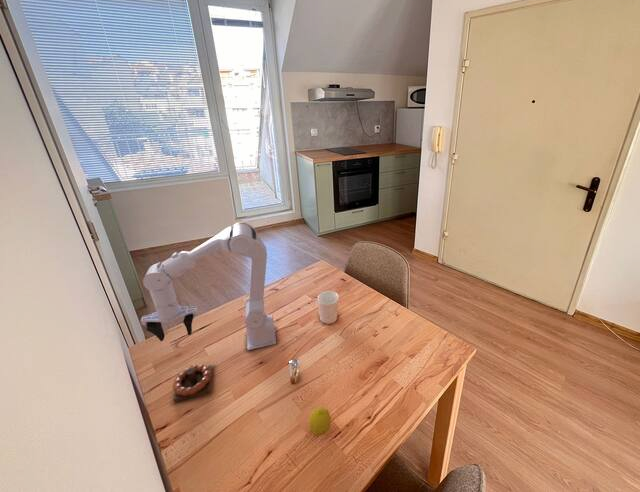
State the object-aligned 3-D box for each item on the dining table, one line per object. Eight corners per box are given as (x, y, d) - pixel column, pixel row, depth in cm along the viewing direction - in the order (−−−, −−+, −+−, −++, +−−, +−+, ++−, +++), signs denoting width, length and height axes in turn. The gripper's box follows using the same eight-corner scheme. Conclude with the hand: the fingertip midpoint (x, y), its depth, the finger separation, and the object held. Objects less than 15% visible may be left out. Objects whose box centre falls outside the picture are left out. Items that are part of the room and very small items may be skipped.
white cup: (342, 315, 116) (342, 295, 112) (330, 328, 110) (329, 307, 106) (326, 308, 120) (326, 288, 116) (314, 319, 114) (313, 299, 110)
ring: (297, 390, 87) (295, 372, 84) (287, 389, 87) (285, 370, 84) (304, 370, 93) (302, 352, 90) (294, 369, 94) (292, 351, 90)
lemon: (310, 420, 79) (309, 401, 76) (331, 419, 80) (330, 400, 76) (309, 443, 74) (307, 423, 71) (331, 441, 75) (330, 422, 71)
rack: (212, 367, 93) (209, 354, 91) (209, 393, 86) (205, 379, 83) (180, 375, 90) (176, 362, 88) (174, 402, 83) (169, 389, 80)
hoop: (212, 364, 93) (211, 359, 92) (209, 391, 85) (207, 386, 84) (178, 372, 90) (176, 368, 89) (171, 401, 82) (169, 396, 81)
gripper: (195, 289, 93) (203, 321, 98) (141, 298, 88) (153, 331, 94) (191, 303, 87) (200, 337, 92) (133, 313, 82) (147, 348, 88)
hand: (176, 335), depth 93 cm, fingers open, 7 cm apart
